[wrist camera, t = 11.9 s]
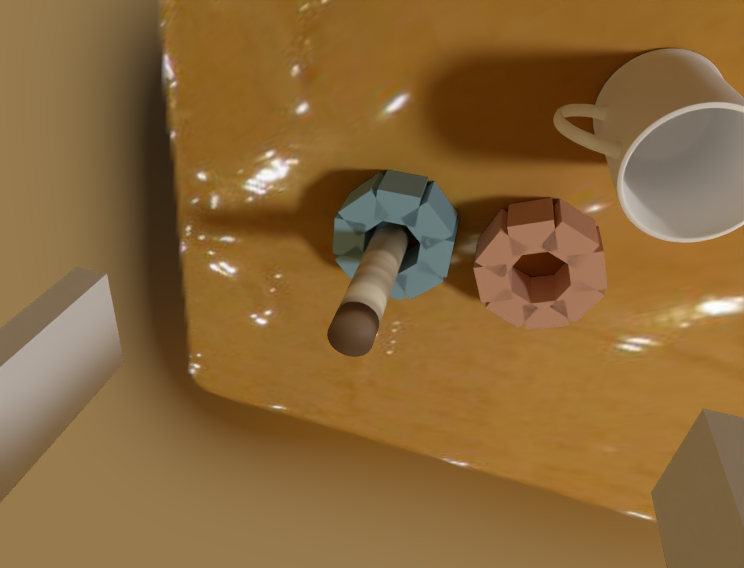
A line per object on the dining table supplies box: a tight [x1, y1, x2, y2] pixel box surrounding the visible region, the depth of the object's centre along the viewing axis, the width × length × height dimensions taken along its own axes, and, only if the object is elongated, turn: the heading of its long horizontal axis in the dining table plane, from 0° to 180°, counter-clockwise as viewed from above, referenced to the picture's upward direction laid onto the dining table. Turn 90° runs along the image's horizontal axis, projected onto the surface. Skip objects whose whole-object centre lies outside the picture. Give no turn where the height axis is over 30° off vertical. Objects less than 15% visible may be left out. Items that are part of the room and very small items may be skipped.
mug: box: [553, 48, 744, 242], centre depth 36 cm, size 12×8×12 cm
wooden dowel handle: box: [328, 221, 412, 357], centre depth 44 cm, size 3×3×16 cm
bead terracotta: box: [473, 198, 607, 330], centre depth 47 cm, size 10×10×4 cm
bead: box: [332, 170, 459, 300], centre depth 49 cm, size 10×10×4 cm
